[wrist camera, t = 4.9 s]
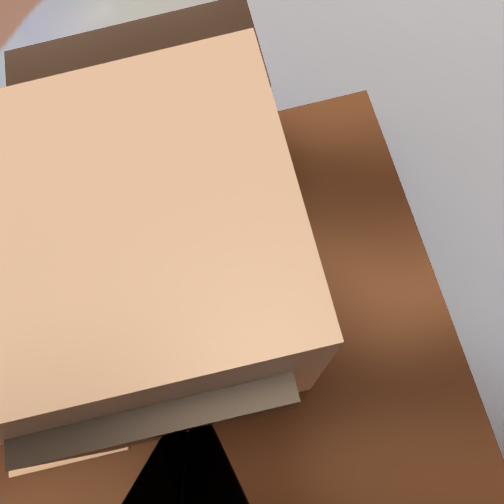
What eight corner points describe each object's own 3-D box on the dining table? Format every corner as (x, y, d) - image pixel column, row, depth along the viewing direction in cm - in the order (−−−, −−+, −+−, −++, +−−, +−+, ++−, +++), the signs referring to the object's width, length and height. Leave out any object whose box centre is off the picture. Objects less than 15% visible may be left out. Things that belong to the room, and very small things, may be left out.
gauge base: (570, 703, 12) (975, 1121, 5) (-47, 849, 12) (-534, 1475, 5) (360, 115, 18) (404, -79, 11) (-51, 213, 18) (-273, 84, 11)
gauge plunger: (313, 404, 13) (356, 383, 4) (11, 476, 13) (-525, 593, 4) (276, 255, 14) (253, 27, 6) (3, 320, 14) (-409, 185, 6)
